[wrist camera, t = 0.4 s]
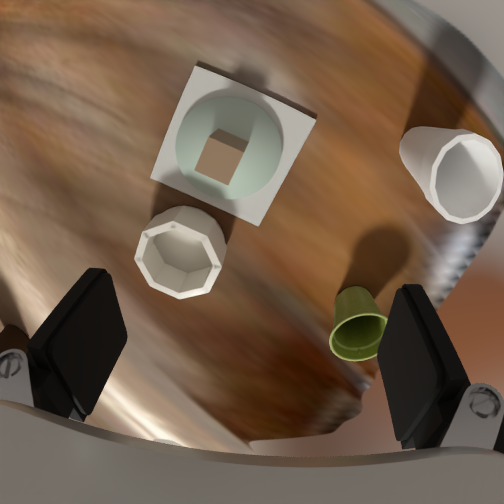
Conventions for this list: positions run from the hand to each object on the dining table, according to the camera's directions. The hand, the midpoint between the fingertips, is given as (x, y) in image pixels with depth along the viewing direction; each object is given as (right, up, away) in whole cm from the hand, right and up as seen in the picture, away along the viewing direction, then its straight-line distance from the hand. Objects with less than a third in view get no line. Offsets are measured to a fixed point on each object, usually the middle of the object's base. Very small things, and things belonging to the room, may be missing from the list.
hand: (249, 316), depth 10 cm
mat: (-3, +15, +29) cm, 33 cm away
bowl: (-9, +4, +36) cm, 38 cm away
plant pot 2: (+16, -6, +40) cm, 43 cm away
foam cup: (+22, +16, +27) cm, 38 cm away
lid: (-3, +15, +29) cm, 32 cm away
